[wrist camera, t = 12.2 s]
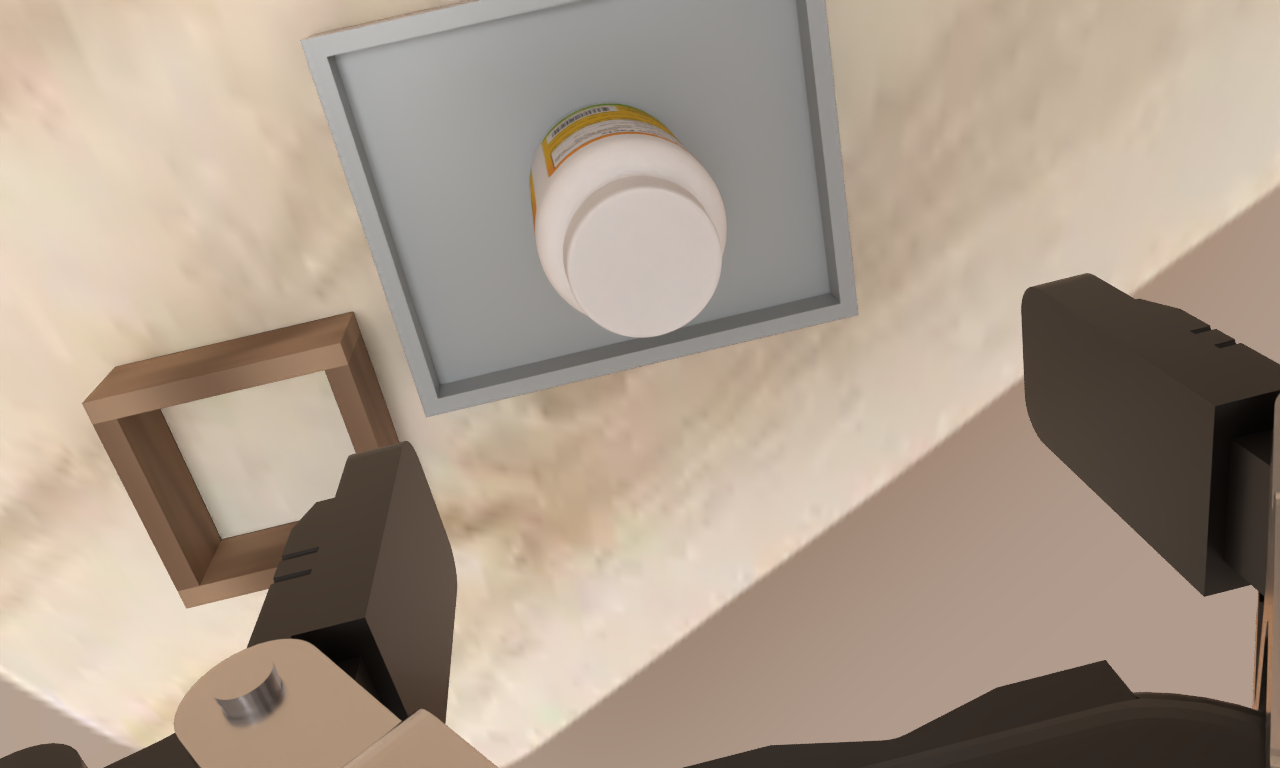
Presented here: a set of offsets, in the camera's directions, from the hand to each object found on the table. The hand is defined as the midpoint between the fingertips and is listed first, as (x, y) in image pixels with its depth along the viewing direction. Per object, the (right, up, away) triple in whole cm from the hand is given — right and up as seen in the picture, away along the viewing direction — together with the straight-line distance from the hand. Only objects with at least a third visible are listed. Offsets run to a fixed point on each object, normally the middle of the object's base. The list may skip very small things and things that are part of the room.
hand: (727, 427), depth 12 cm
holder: (-15, -2, +24) cm, 28 cm away
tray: (-2, +8, +21) cm, 23 cm away
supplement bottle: (-2, +8, +21) cm, 22 cm away
